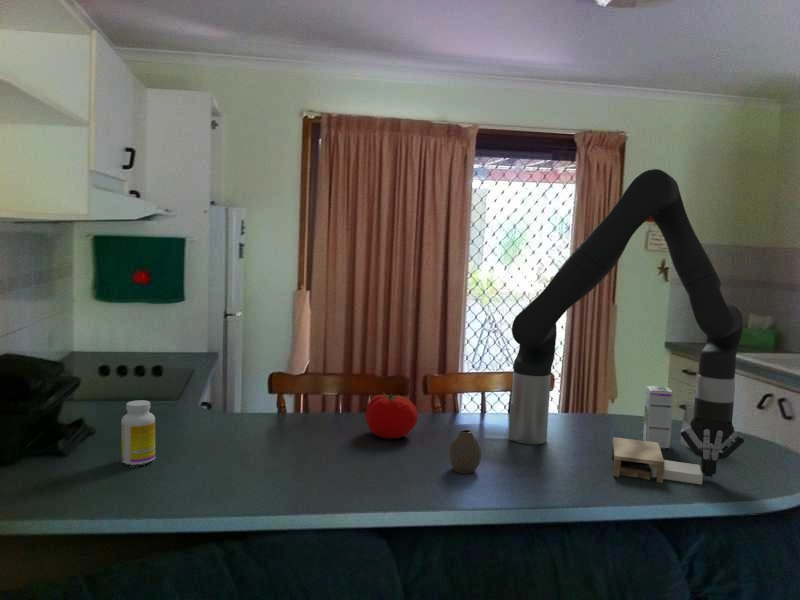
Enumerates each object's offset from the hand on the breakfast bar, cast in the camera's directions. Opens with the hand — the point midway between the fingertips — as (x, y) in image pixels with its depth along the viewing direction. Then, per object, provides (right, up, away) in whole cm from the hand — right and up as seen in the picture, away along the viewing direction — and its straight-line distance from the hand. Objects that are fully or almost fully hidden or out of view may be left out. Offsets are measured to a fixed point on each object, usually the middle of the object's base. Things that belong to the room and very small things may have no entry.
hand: (707, 475), depth 140 cm
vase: (-53, +1, 0) cm, 53 cm away
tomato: (-69, +4, +22) cm, 73 cm away
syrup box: (-2, +1, +24) cm, 24 cm away
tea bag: (+8, +1, +24) cm, 25 cm away
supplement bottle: (-122, +3, -2) cm, 122 cm away
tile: (-6, -1, +2) cm, 7 cm away
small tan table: (-14, 0, +5) cm, 15 cm away
